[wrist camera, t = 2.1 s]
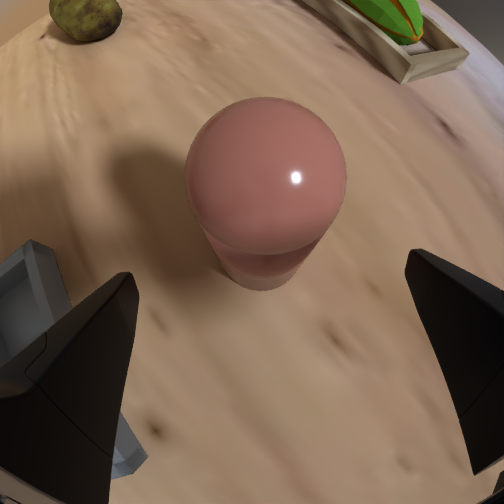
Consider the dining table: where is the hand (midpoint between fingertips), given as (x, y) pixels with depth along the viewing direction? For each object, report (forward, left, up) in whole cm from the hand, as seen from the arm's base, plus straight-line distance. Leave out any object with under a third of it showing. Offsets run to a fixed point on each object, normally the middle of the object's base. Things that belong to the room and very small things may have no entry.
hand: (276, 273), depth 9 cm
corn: (+23, -27, -11) cm, 37 cm away
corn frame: (+23, -27, -10) cm, 37 cm away
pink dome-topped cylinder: (+3, -1, -10) cm, 11 cm away
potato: (+39, +3, -11) cm, 40 cm away
